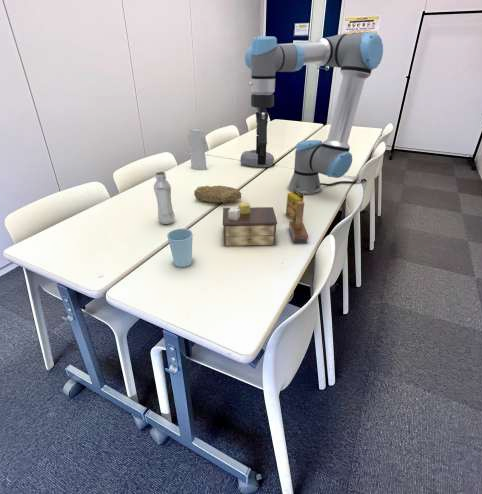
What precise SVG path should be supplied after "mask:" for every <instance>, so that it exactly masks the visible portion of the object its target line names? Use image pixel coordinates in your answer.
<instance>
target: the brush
mask: <svg viewBox="0 0 482 494" xmlns="http://www.w3.org/2000/svg"><path fill="white" fill-rule="evenodd" d="M304 211H305V201H304V200H303V201H298V202H297V212H296V221H293V220H292V221H291V220H290V221H288V230H289V234H290V237H291V240H292V243H293V244H308V240H309V233H308V231H307V229H306V227H305V224H304V222H303V220H304Z"/></svg>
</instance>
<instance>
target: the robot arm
mask: <svg viewBox="0 0 482 494" xmlns="http://www.w3.org/2000/svg"><path fill="white" fill-rule="evenodd" d="M383 54H384V44H383V40H382V38H381V36H380V35H379V34H378V33H376V32H368V31H366V32H357V33H356V32H355V33H342V34H341V33H340V34H335V35H332V36H327V37H320V38H317V40H315V41H306V42H305V41H303V42H290V43H289V42H288V43H278V39H277V37H276V36H271V35H270V36H265V35H264V36H261V35H260V36H255V37H254V38H253V39H252V42H251V46H249V47H248V48H247V49H246V51H245V55H244V61H245V65H246V66H247V68H248V69H250V70H251V74H250V75H251V76H250V77H251V81H249V83H248V85H249V86H250V87H251V89H250V90H251V93H252V94H250V106H251V107H252V108H256V110H257V111H256V112H255V122H256V130H255V132H256V135H255V136H256V137H255V139H256V141H255V150H256V154H258V165H266V152H267V145H268V121H269V112H268V111H267V108H269V109H270V108H272V107H274V105H275V95H274V94H273V93H275V91H276V89H275V88H276V73H287V72H288V73H293V72H297V71H300V70H301V69H302V68H303V66H310V65H315V66H317V67H331V68H332V67H333V68H338V69H340V71H339V72H340V74H341V76H342V78H341V81H340V82H341V83H340V86H339V91H338V95H337V99H336V104H335V107H334V110H333V115H332V119H331V124H330V127H329V130H328V131H329V132H328V135H327V138H326V139H325V140H324V141H322V140H321V139H320V140H319V139H310V140H309V139H307V140H302V141H299V142H297V143H296V147H295V151H294V152H295V153H294V168H293V174H292V176H291V179H290V182H289V184H288V189H289V191H290V192H294V188H295V189H296V190H298V191H299V192H301V193H302V194H303V195H306V196H307V195H315V194H318V193H320V191H321V189H322V186H325V187H330V186H334V185H338V184H357V183H356V182H357V181H358V180H339V181H335V182H331V183H324V182H321V181H320V176H319V174H321V175H323V176H327V177H328V178H334V179H339V178H342V177H343V176H344V175H345V174H346V173H348V171H349V169H350V168H351V166H352V162H353V154H352V153H351V152H350V149H351V146H350V145H349V139H350V135H351V131H352V128H353V125H354V121H355V118H356V114H357V110H358V107H359V103H360V99H361V97H362V92H363V87H364V84H365V81H366V79H368V78H369V77H370V76H371V74H372V71H373V70H375V69H377V68H378V67H379V65H380V64H381V62H382V59H383V56H384V55H383ZM360 180H361V182H360V183H362V182H366V183H367V181H368V180H367V179H366V178H362V179H360ZM299 192H297V191H296V193H298V195H300V193H299Z"/></svg>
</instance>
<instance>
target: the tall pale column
mask: <svg viewBox="0 0 482 494" xmlns="http://www.w3.org/2000/svg"><path fill="white" fill-rule="evenodd" d="M187 138H188V143H189V149H190V157H189V158H190V164H191V165H190V166H191V167H190V169H195V170H201V171H202V170H203V171H206V170H207V157H206V151H205V149H206V148H205V146H206V145H205V144H206V136H205V134H204V132H203V130H202V129H198V128H194V129H189V134H188V135H187Z"/></svg>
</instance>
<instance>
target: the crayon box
mask: <svg viewBox="0 0 482 494" xmlns="http://www.w3.org/2000/svg"><path fill="white" fill-rule="evenodd" d="M296 191H297V192H299V191H298V190H296V189H295V188H294V192H292V191H290V192H287V194H286V195H287V196H286V210H285V215H286V216H287V217H288V218H290V220H292V221H296V212H297V202H298V201H303V202H304V194H302V193H301V192H299V193H300V194H298V193H296Z"/></svg>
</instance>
